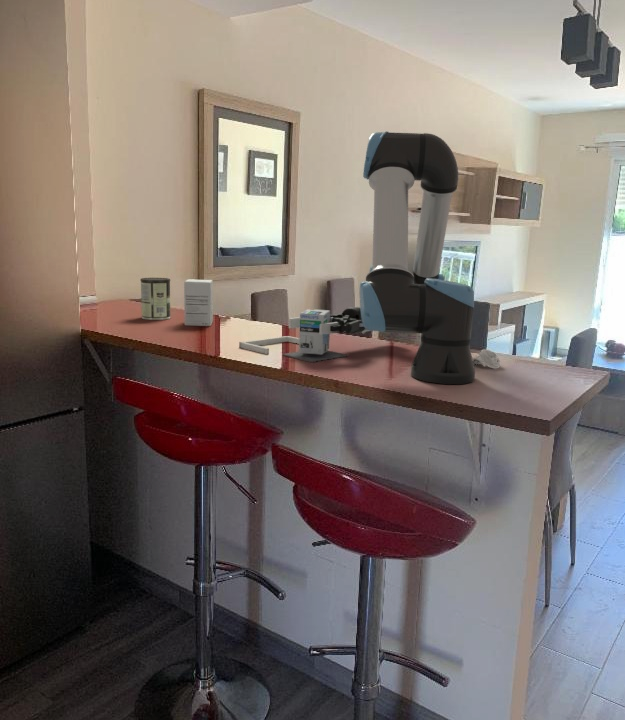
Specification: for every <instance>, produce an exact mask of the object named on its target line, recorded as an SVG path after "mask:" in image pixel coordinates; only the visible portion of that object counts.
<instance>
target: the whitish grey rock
mask: <svg viewBox="0 0 625 720" xmlns="http://www.w3.org/2000/svg"><path fill="white" fill-rule="evenodd" d="M472 360H473V364H474V366H475V364H476V365H477V364H478V365H482V366H483V367H489V368H491V369H494V370H495V369H496V370H497V369H499V368H500V362H501V361H500V358H499V355H498V354H497V353H496V352H494V351H492V350H490V349H485V348H483V349H482V350H480V352H479V353H478V356H477V355H475V356H474V359H472Z"/></svg>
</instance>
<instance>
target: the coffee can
mask: <svg viewBox="0 0 625 720" xmlns="http://www.w3.org/2000/svg"><path fill="white" fill-rule="evenodd" d="M140 293H141V294H140V299H141V300H140V301H141V305H140V306H141V319H143V320H148V321H149V320H150V321H162V320H163V321H164V320H170V319H171V279H170V278H168V277H166V278H165V277H142V278H140Z"/></svg>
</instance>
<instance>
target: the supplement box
mask: <svg viewBox="0 0 625 720" xmlns="http://www.w3.org/2000/svg"><path fill="white" fill-rule="evenodd" d="M213 282H214V281H213V279H193V278H191V279H186V280H185V281H184V283H183V284H184V287H183V288H184V291H183V292H184V294H183V295H184V296H183V297H184V304H183V305H184V306H183V307H184V326H192V327H194V326H195V327H197V326H198V327H211V325H212V324H213V321H214V319H213V318H214V315H213V314H214V313H213V311H214V309H213V307H214V305H213V304H214V303H213V302H214V301H213V299H214V297H213V296H214V293H213V289H214V286H213V284H214V283H213Z"/></svg>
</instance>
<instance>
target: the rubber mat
mask: <svg viewBox="0 0 625 720" xmlns="http://www.w3.org/2000/svg"><path fill="white" fill-rule="evenodd" d="M282 356H284V357H288V358H290V359H291V358H292V359H296V360H300V361H304V362H309V363H316V361H318V362H322V361H321V360H323V361H328V360H327V359H329V360H334V359H333V358H335V359H339V358H345V357H348V354H345V353H342V352H336V351H332V350H329V349H328V350H327V351H326V352H325V353H324V354H322V355H320V354H308V353H299V351H293V352H287V353H282Z"/></svg>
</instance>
